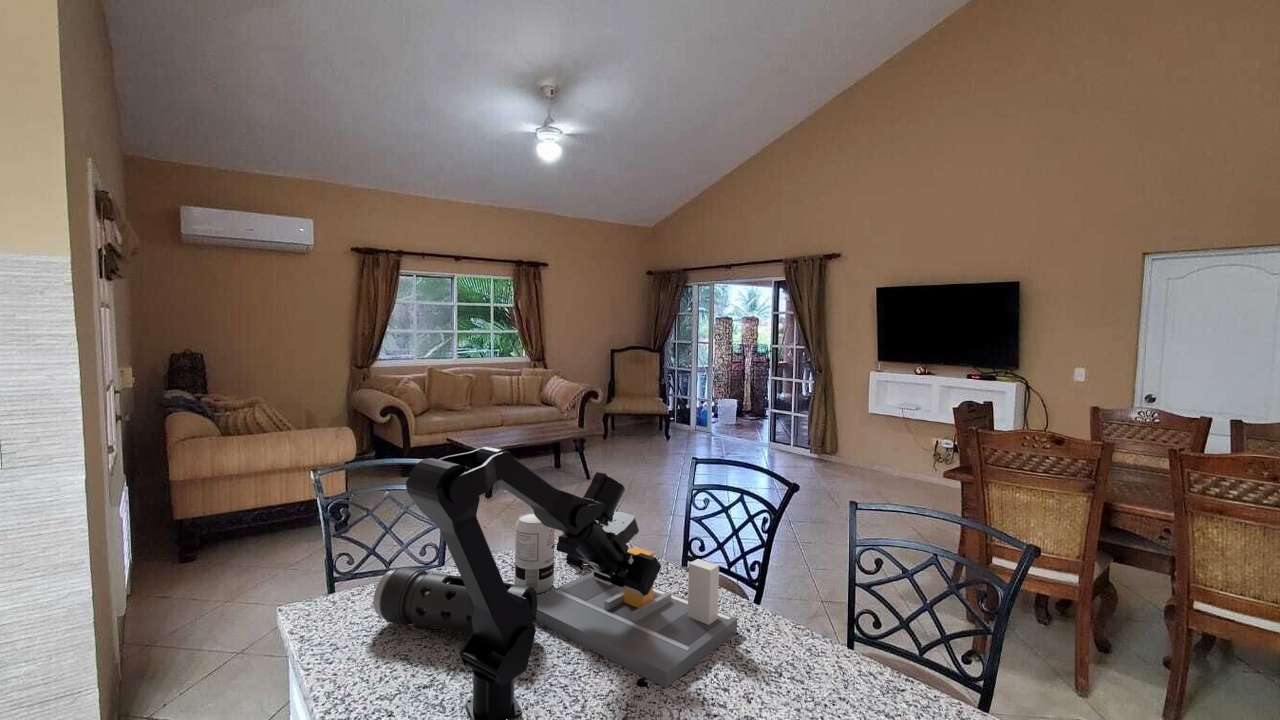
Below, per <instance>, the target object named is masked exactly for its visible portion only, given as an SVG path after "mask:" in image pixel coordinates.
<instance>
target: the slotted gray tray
mask: <svg viewBox="0 0 1280 720" xmlns="http://www.w3.org/2000/svg"><path fill="white" fill-rule="evenodd" d="M719 580H720V565H718V564H717V563H713V562H710V561H706V560H703V559H701V558H700V559H699V558H697V559H695V560H692V561H691V562H689V563H688V584H687V585H688V590H687V599H686V598H683V597H681V596H677V595H676V594H672V593H671V592H669V591H665V590H662V589H659V588H657V587H654V586H653V600H652V601H651V602H649V603H647V604H645V605H644V606H642V607H640V608H637V607H634V606H632V605H630V604H627V603H625V602H624V591H625V586H624V587H619V586H616V585H614V584H611V583H610V582H608V581H604V580H601V579H599V578H596V577H594V571H592V572H590V573H587V574H585V575H582V576H581V577H580V576H579V577H578V578H576V579H574V580H571V581H569V582H567V583H565V584H563V585H560V586H558V587H556V588H553V589H550V590H548V591H545V592H543V593H541V594H540V595H537V613H536V618H537V619H536V620H535V622H536V623H538V624H539V625H541V626H543V627H545V628H547V629H549V630H551V631H553V632H555V633H557V634H559V635H561V636H562V637H564V638H567V639H568V640H570V641H573V642H574V643H577V644H579V645H581V646H582V647H584V648H586V649H588V650H591V651H592V652H594V653H596V654H598V655H599V656H602V657H604V658H607V660H609V661H612V662H614V663H616V664H618V665H619V666H621V667H624V669H627V670H629V671H631V672H633V673H636V674H637V675H639V676H642V677H643V678H645V679H646V680H649V681H651V682H653V683H655V684H657V685H659V686H660V687H663V688H665V689H668V688H669V687H670V686H672V685H673V684H674V683H675V682H677V680H678V679H680V678H681V677H683V675H684V674H686V673H687V672H688V671H690V670H691V669H692V668H693V667H695V666H696V665H698V664H699V663H701V661H703V660H704V659H705V658H706V657H708V656H709V655H710V654H711V653H713V652H714V651H716V649H718V648H719V647H720V646H721V645H723V644H724V643H726V642H727V641H728V640H729V639H730V638H731V637H733V636H734V635H735V634H737V632H738V618H736V617H734V616H731V615H728V614H726V613H723V612H720V611H719V585H720V583H719V582H720V581H719ZM535 622H534V623H535Z"/></svg>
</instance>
